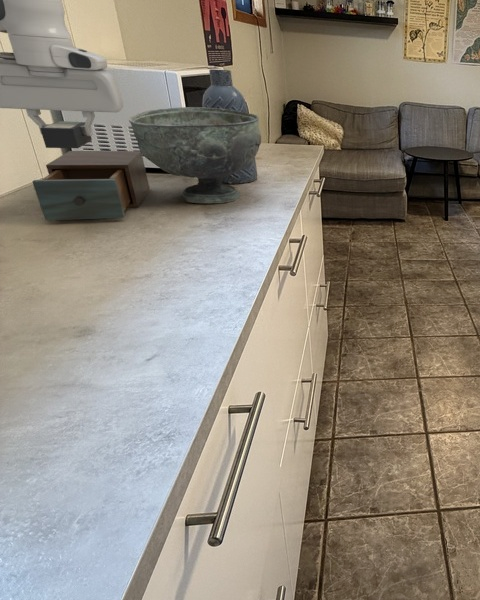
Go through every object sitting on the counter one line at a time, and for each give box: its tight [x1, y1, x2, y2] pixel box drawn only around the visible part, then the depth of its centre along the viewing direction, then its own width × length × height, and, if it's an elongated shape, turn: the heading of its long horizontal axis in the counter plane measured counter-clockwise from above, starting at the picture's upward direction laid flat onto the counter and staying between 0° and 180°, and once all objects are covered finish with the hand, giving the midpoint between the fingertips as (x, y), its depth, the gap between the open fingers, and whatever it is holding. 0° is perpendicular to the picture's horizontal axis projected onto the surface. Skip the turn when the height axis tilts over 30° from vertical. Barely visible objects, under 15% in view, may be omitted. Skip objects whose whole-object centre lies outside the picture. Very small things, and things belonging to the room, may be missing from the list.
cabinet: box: [45, 150, 151, 209], centre depth 109 cm, size 16×15×10 cm
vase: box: [201, 68, 258, 185], centre depth 128 cm, size 12×12×28 cm
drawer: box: [32, 168, 132, 221], centre depth 99 cm, size 16×13×8 cm
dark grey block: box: [39, 120, 93, 149], centre depth 91 cm, size 5×9×4 cm, turn 20°
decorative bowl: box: [127, 106, 262, 204], centre depth 113 cm, size 26×26×20 cm
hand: (68, 135), depth 91 cm, fingers closed on dark grey block, 5 cm apart
